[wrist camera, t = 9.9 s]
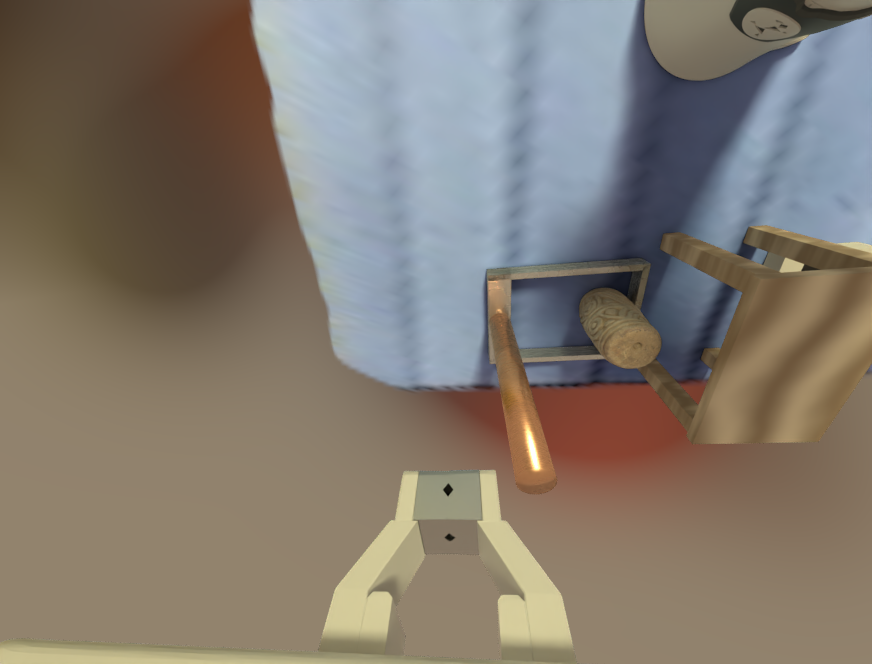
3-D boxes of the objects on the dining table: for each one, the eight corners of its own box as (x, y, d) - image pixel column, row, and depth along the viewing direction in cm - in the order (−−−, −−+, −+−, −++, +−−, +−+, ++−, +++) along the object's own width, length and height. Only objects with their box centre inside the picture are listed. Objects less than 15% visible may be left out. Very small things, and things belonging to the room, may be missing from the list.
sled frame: (641, 257, 43) (871, 401, 19) (621, 348, 50) (771, 536, 26) (486, 269, 45) (518, 411, 21) (488, 354, 52) (514, 534, 28)
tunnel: (770, 224, 40) (937, 268, 26) (718, 358, 50) (818, 441, 36) (659, 233, 42) (760, 279, 28) (629, 362, 52) (692, 444, 38)
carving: (577, 282, 46) (612, 322, 35) (632, 286, 45) (683, 328, 35) (565, 322, 49) (595, 370, 38) (617, 326, 49) (660, 375, 38)
